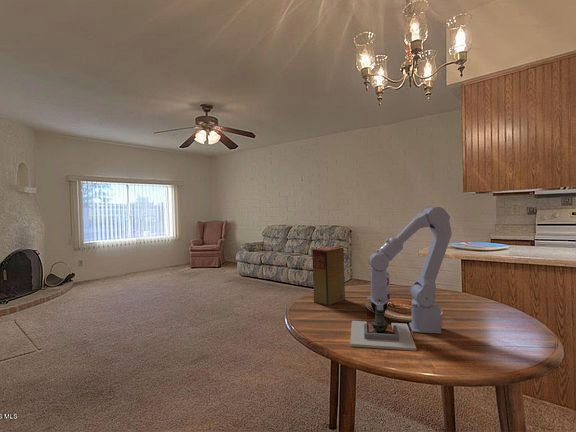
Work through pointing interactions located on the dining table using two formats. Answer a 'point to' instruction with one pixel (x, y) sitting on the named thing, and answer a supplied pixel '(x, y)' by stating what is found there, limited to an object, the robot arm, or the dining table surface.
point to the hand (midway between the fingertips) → (379, 323)
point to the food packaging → (328, 275)
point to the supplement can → (387, 287)
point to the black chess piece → (379, 321)
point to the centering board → (382, 337)
